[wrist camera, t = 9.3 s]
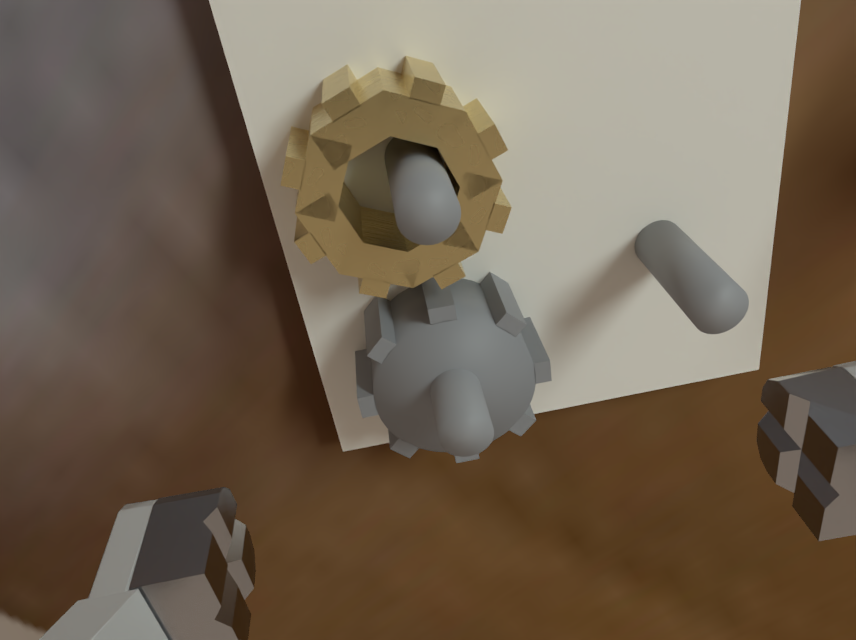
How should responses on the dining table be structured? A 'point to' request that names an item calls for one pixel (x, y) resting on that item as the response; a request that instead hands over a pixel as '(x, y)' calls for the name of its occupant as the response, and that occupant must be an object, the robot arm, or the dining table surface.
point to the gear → (366, 127)
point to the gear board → (537, 201)
